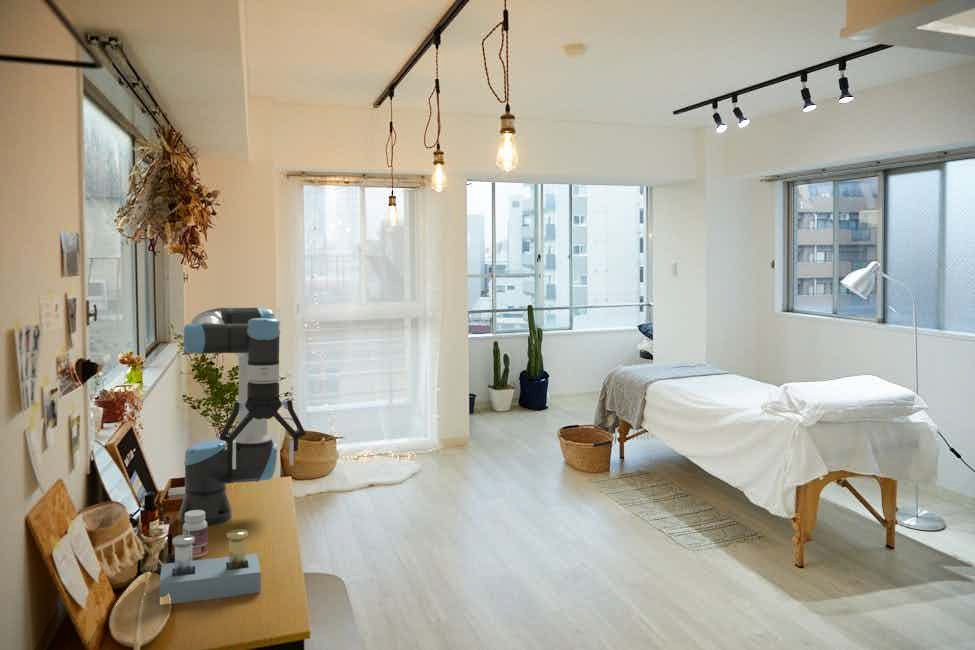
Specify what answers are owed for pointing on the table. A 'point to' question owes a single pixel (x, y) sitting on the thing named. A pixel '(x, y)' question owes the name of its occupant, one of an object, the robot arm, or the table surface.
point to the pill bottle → (196, 531)
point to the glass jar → (237, 548)
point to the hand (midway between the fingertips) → (263, 466)
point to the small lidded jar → (183, 554)
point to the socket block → (210, 580)
